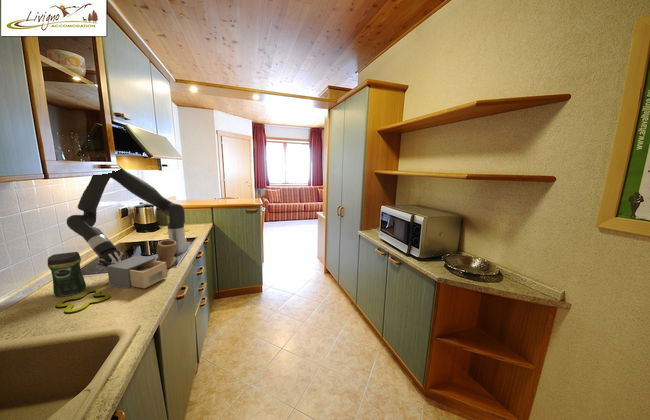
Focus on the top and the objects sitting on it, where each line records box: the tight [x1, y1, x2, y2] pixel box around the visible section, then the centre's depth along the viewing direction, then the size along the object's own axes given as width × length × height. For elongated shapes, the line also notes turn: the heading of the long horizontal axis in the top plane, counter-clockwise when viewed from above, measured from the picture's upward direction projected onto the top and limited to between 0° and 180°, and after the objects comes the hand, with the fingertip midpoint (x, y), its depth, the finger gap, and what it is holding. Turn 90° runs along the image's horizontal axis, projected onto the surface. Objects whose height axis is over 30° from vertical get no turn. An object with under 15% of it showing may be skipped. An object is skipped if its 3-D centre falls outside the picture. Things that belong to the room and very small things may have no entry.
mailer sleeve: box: [106, 255, 156, 290], centre depth 115 cm, size 14×12×10 cm
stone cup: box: [156, 239, 178, 269], centre depth 133 cm, size 15×12×15 cm
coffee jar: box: [47, 251, 87, 298], centre depth 102 cm, size 10×8×19 cm
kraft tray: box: [128, 260, 169, 289], centre depth 114 cm, size 12×20×8 cm, turn 77°
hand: (123, 270), depth 116 cm, fingers closed
